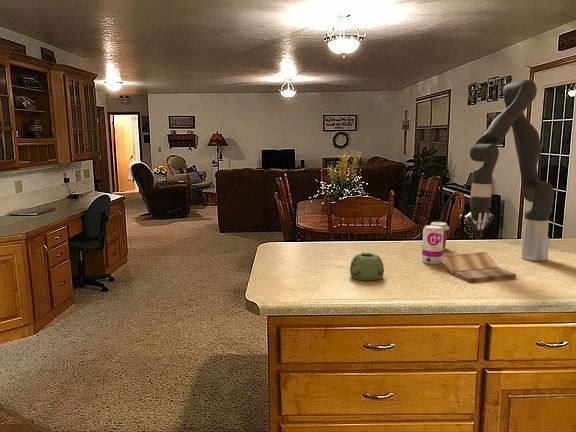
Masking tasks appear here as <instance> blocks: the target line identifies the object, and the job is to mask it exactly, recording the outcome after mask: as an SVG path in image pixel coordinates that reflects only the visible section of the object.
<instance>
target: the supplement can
mask: <svg viewBox="0 0 576 432" xmlns="http://www.w3.org/2000/svg"><path fill="white" fill-rule="evenodd" d="M443 235H444V230H443V228H442V227H441V226H435V225H431V224H430V225H429V224H428V225H425V226H424V228H423V230H422V244H421V245H422V246H421V247H422V248H421V249H422V252H421V261H423V263H425V264H430V265H437V264H441V263H442V262H443V260H442V259H441V258H442V256H443V253H444V252H443V251H444V250H443Z"/></svg>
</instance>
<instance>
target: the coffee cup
mask: <svg viewBox="0 0 576 432" xmlns="http://www.w3.org/2000/svg"><path fill="white" fill-rule="evenodd" d="M430 225H435V226H441V227H442V228H443V230H444V235H443V251H444V250H445V249H446V244H447V237H448V230H449V229H450V227H449V226H448V223H446V222H444V221H443V222H442V221H433V222H431V223H430Z"/></svg>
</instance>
